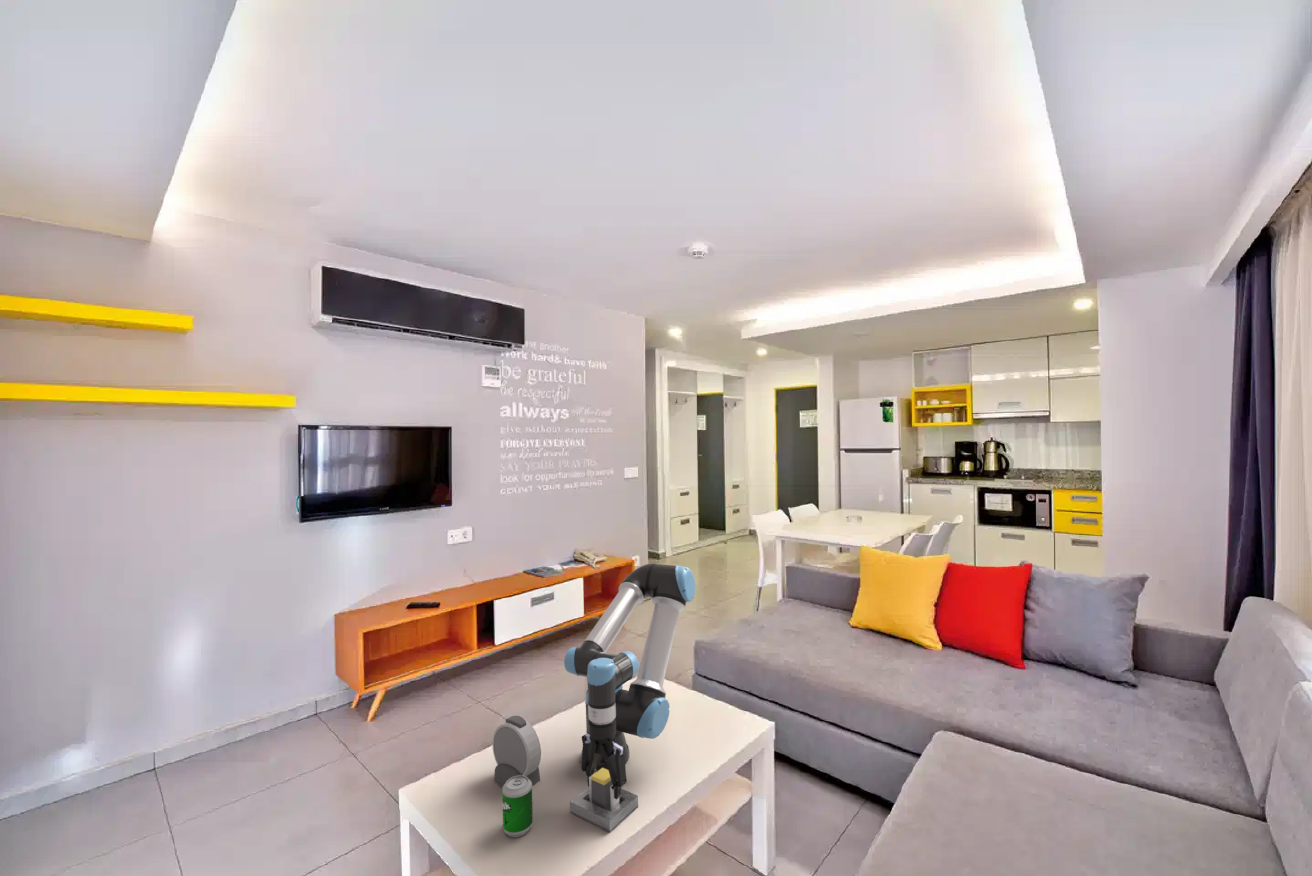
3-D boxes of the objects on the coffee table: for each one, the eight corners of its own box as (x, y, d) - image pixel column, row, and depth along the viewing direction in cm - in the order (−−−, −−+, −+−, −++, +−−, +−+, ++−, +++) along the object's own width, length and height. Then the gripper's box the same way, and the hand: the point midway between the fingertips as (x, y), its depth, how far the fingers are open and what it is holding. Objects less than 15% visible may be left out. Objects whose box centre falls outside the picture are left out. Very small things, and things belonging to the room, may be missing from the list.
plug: (592, 809, 146) (591, 776, 146) (603, 800, 150) (602, 767, 150) (605, 816, 143) (604, 781, 144) (616, 806, 147) (615, 773, 147)
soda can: (535, 818, 144) (534, 773, 144) (529, 838, 137) (528, 790, 137) (507, 820, 144) (506, 774, 144) (499, 840, 136) (498, 792, 137)
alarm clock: (548, 779, 161) (547, 718, 162) (522, 798, 153) (521, 733, 153) (512, 763, 170) (511, 704, 171) (485, 780, 162) (484, 718, 162)
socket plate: (570, 812, 146) (569, 799, 146) (599, 789, 156) (599, 776, 156) (609, 832, 138) (609, 818, 138) (638, 807, 148) (637, 793, 148)
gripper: (566, 715, 150) (568, 798, 149) (621, 735, 139) (624, 826, 138) (584, 704, 156) (586, 784, 156) (639, 722, 145) (641, 809, 144)
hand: (604, 804), depth 147 cm, fingers open, 7 cm apart
